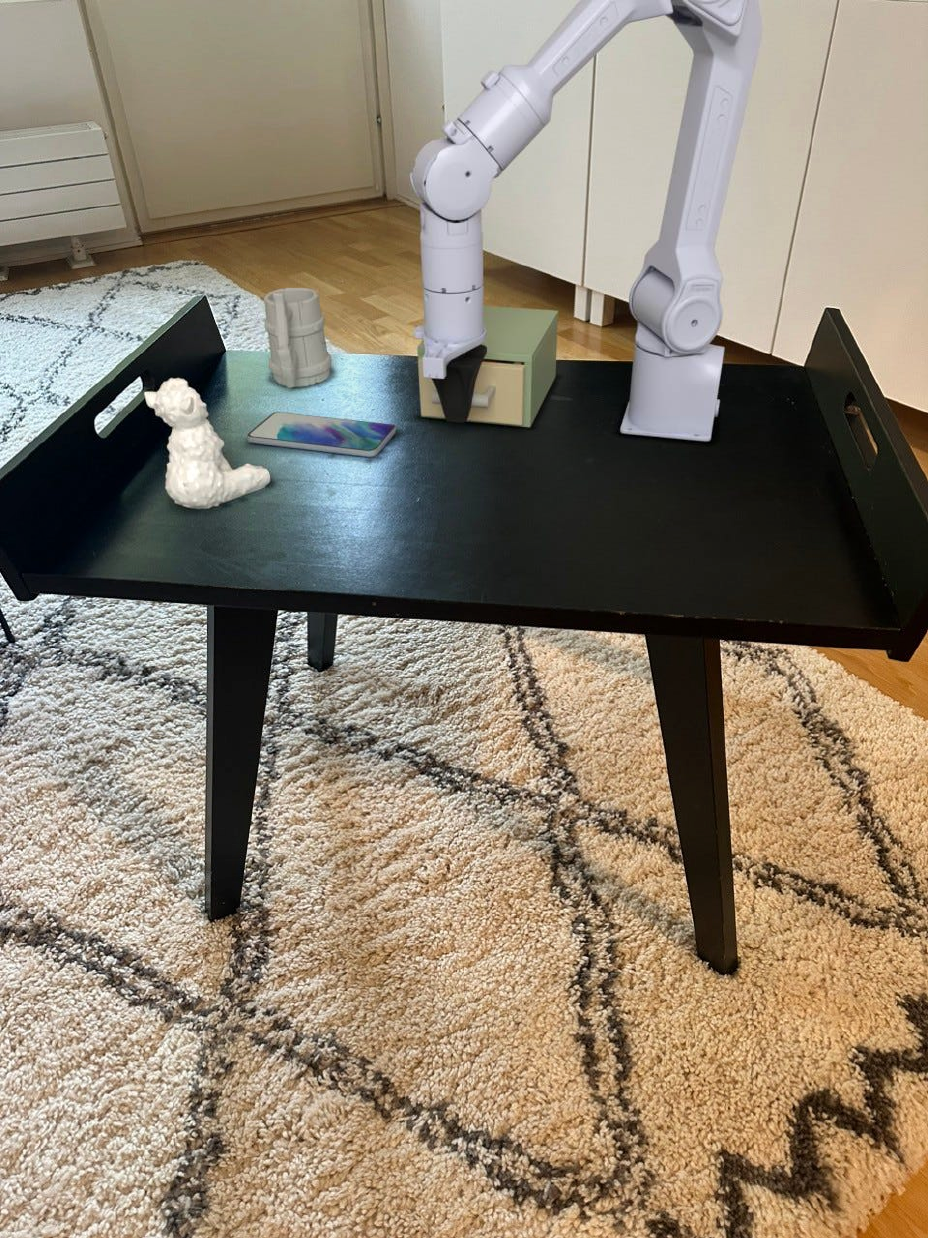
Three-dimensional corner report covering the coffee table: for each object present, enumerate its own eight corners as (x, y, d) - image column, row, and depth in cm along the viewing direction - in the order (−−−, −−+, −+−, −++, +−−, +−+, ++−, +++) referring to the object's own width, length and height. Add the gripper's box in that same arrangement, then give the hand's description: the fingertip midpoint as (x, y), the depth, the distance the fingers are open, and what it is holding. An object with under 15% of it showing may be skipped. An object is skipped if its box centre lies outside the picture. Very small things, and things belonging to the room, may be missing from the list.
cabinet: (530, 427, 98) (531, 355, 93) (420, 416, 101) (416, 346, 96) (555, 376, 109) (558, 310, 104) (456, 368, 112) (454, 303, 107)
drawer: (513, 442, 93) (513, 384, 89) (409, 431, 96) (405, 375, 92) (546, 377, 107) (548, 325, 103) (454, 370, 109) (453, 318, 105)
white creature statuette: (275, 483, 89) (256, 367, 82) (222, 525, 83) (196, 403, 76) (199, 466, 92) (173, 353, 85) (142, 505, 86) (109, 386, 79)
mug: (337, 363, 114) (326, 266, 107) (322, 401, 105) (309, 297, 97) (277, 364, 114) (263, 267, 107) (257, 402, 105) (240, 298, 98)
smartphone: (273, 410, 101) (398, 424, 97) (274, 417, 101) (399, 431, 98) (243, 436, 95) (374, 452, 92) (244, 444, 96) (374, 459, 92)
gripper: (434, 260, 90) (440, 388, 98) (387, 306, 79) (397, 446, 87) (502, 264, 89) (502, 394, 97) (463, 311, 78) (467, 453, 86)
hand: (457, 419), depth 92 cm, fingers closed
